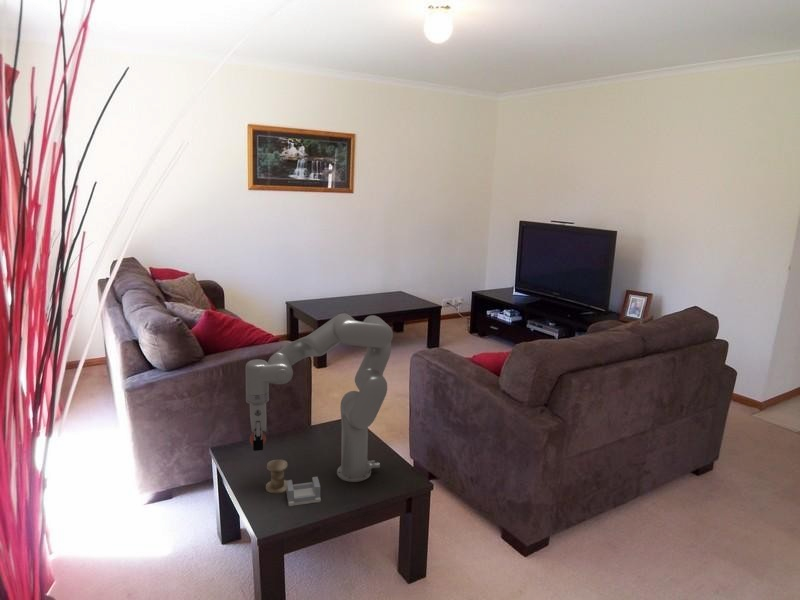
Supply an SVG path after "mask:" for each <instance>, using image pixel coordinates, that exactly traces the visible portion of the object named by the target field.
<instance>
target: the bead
mask: <svg viewBox="0 0 800 600" xmlns="http://www.w3.org/2000/svg"><path fill="white" fill-rule="evenodd" d="M260 434H261V432H260ZM255 435H256V433H255ZM253 439H254V433H253V432H252V433H251V434H250V436H249V443H250V445H251V446H252V447H253ZM262 439H263V446H264V445H265V444H266V442H267V437H266V434H265V433H264V431H262Z"/></svg>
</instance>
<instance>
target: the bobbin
mask: <svg viewBox="0 0 800 600" xmlns="http://www.w3.org/2000/svg"><path fill="white" fill-rule="evenodd" d="M287 468H288V462H287V461H286V460H285V459H278V458H277V459H272V460H270V461H268V462H267V463H266V469H267V470H268V471H270V480H269V481H268V482H267V483H266V484H265V490H266V492H267V493H270V494H274V495H278V494H282V493H286V489H287V483H286V479H285V470H286V469H287Z"/></svg>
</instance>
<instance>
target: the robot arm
mask: <svg viewBox="0 0 800 600" xmlns="http://www.w3.org/2000/svg"><path fill="white" fill-rule="evenodd" d="M393 338H394V332H393V329H392V327H390V325H389V324H388V323H386V322H385V320H383V319H382V318H381V317H379V316H377V315H374V314H373V315H368V316H367V317H365V318H364V319H363V320H362V321H360V320H356V319H355V318H354V317H352V316H351V315H350V314H347V313H344V312H343V313H339V314H337V315H336V316H334V317H332V318H331V319H329V320H328V321H327V322H325V323H324V324H322V325H321V326H320V327H318V328H316V329H315V330H314V331H312V332H311V333H310V334H308V335H306V336H305V335H304V336H303V337H301V338H298V339H295V340H294V341H290V343H288V344H286V345H285V346H282V347H281V348H280V349H279V350H277V351H276V352H274V353H273V354H272V355H271V356H270V357H269V359H268V360H267V361H266V360H264V359H258V358H257V359H251V360H248V361H247V362H246V364H245V402H246V403H247V404H249V417H250V425H251V426H250V427H251V432H252V433H254V439H253V446H252V447H253V449H252V450H253V451H254V452H256V451H264V445H263V439H262V432H267V430H268V429H267V403H268V402H269V401H270V392H269V391H270V384H274V385H275V384H276V385H284V384H287V383H288V382H290V381H291V380H292V378H293V374H294V370H293V367H292V366H293V365H295V364H296V363H297V362H299V361H301V360H304V359H306V358H310V357H321V356H324V355H326V354H327V353H328V352H330V350H332V349H333V348H335V347H337V346H338V345H340V344H341V343H342V344H345V345H349V346H354V347H356V346H357V347H365V348H366V351H365V354H364V357H363V359H362V361H361V363H360V365H359V366H358V367H359V368H358V370H357V371H356V374H355V376H354V383H355V386H356V388H357V389H358V390H359V391H357V390H350V391H348V392H347V393H345V394H344V395H343V397H342V399H340V418H341V449H340V450H341V462H340V464H341V465H339V467H338V468H337V470H336V475H337V476H338V478H339V479H340V480H342V481H345V482H349V483H358V482H363V481H365V480H367V479H369V478H370V477H371V475H372V469H379V468H381V463H380V461H379V462H378V461H376V460H375V459H372V460H369V459H368V446H369V445H368V442H369V441H368V440H369V439H368V438H369V437H368V435H369V427H370V426H371V425H372V424H373V423H374V421H375V420H376V418H377V416H378V413H379V412H380V409H381V407H382V405H383V403H384V400H385V398H386V396H387V392H388V383H387V380H386V378H385V377H384V372H385V369H386V368H387V364H388V362H389V359H390V357H391V352H392V340H393ZM260 432H261V434H260ZM255 433H256V435H255Z"/></svg>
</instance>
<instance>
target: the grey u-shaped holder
mask: <svg viewBox="0 0 800 600" xmlns="http://www.w3.org/2000/svg"><path fill="white" fill-rule="evenodd" d="M285 480H286V479H285ZM311 480H312V481H310V482H304V483H303V482H302V483H295V484H293V480H292V479H288V480H286V483H287V489H286V491H285V493H286V498H287V505H288V507H293V506H301V505H307V504H312V503H313V504H314V503H321V502H322V499H321V484H320V480H319V478H318V476H312V477H311Z"/></svg>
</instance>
